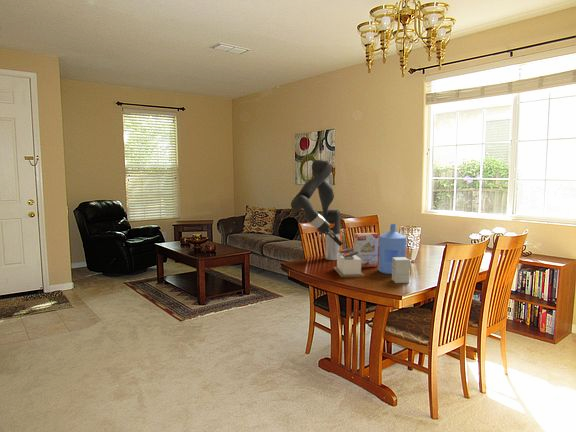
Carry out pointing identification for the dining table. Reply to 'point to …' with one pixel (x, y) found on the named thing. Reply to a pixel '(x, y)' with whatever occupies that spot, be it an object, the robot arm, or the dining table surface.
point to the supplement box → (400, 269)
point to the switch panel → (348, 266)
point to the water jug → (390, 249)
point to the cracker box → (366, 248)
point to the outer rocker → (350, 254)
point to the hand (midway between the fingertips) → (341, 244)
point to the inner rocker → (346, 250)
